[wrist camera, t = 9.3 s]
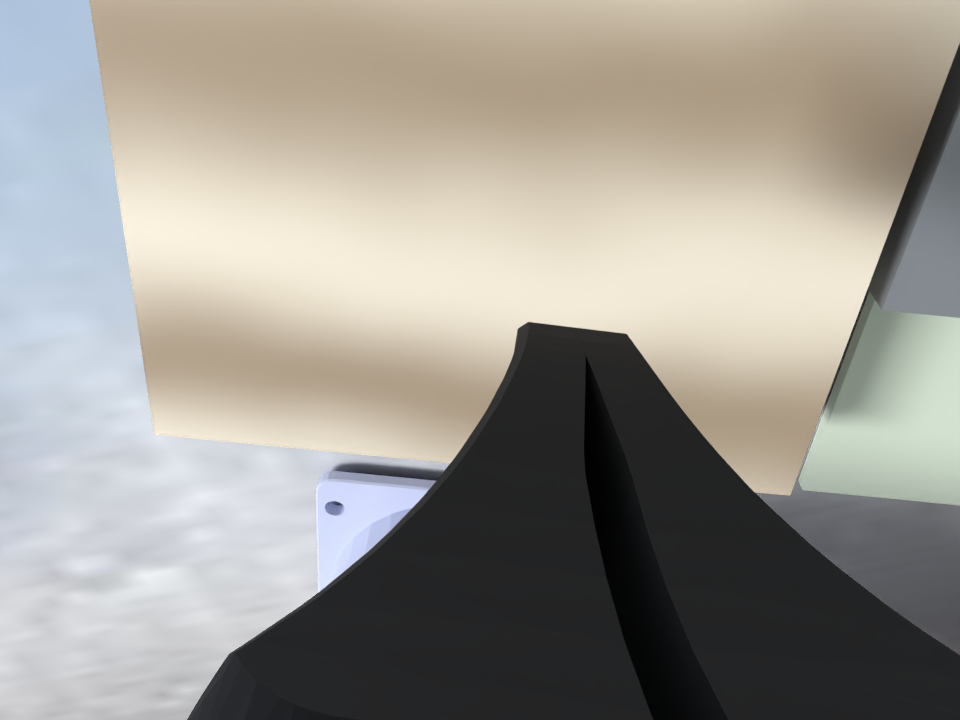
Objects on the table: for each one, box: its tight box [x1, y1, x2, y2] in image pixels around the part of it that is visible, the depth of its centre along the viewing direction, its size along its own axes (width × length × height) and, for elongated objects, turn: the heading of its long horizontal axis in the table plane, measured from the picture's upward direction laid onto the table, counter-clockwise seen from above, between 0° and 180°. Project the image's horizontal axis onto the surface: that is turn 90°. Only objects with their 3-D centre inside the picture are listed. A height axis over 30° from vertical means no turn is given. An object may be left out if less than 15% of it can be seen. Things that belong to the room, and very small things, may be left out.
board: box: [90, 0, 960, 496], centre depth 16 cm, size 16×14×3 cm
